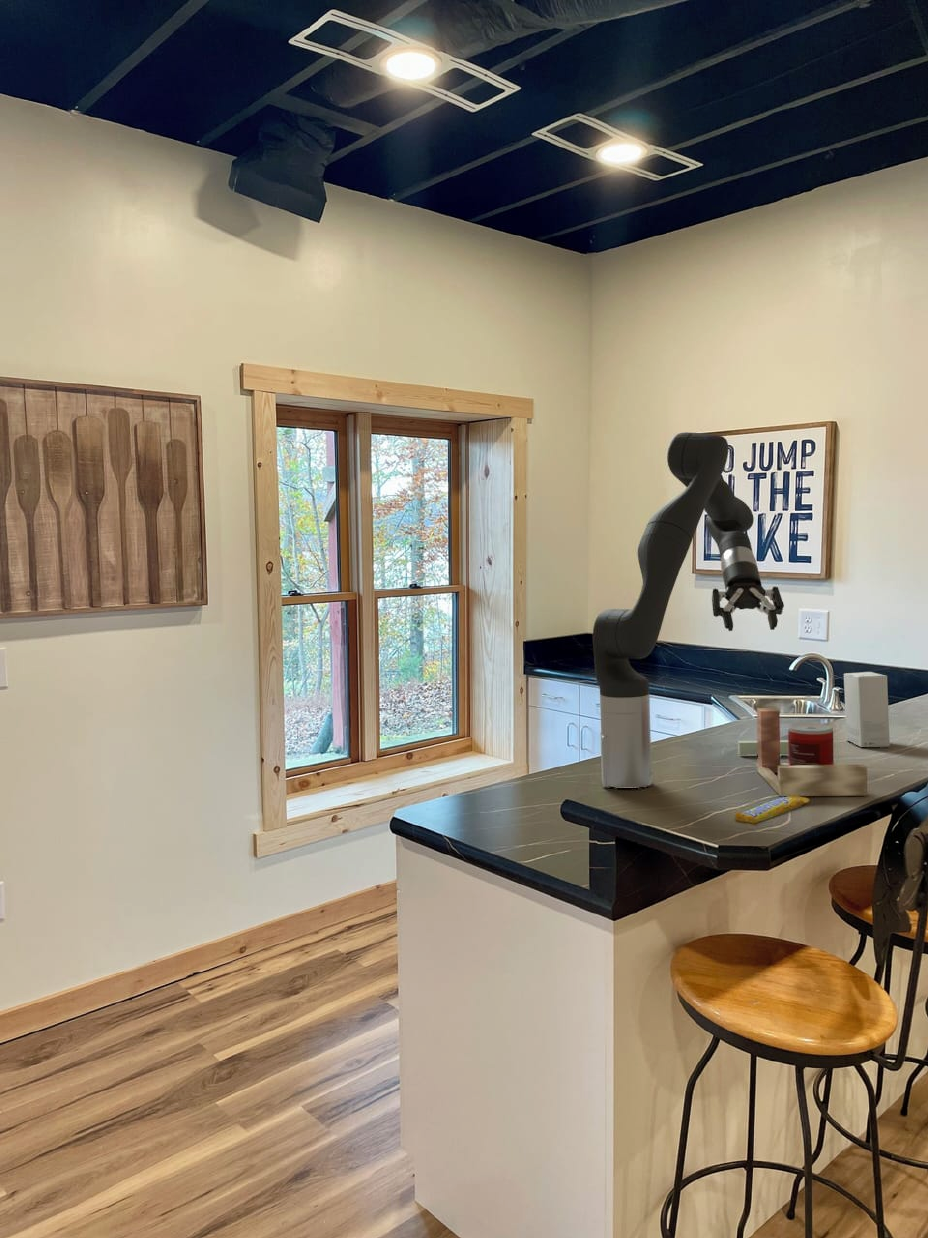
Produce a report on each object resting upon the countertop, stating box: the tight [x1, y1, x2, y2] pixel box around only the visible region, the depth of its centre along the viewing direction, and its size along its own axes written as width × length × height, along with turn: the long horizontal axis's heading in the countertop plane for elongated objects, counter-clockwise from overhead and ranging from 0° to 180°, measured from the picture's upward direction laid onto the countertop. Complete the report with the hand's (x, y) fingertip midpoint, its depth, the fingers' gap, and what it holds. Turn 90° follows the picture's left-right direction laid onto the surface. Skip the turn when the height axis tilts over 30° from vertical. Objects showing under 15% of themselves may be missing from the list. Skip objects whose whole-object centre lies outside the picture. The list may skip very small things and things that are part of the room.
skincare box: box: [843, 671, 891, 748], centre depth 195 cm, size 8×7×16 cm
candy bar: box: [733, 795, 810, 825], centre depth 148 cm, size 17×4×2 cm, turn 129°
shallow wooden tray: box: [755, 707, 868, 797], centre depth 165 cm, size 15×20×12 cm
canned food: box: [787, 722, 835, 766], centre depth 163 cm, size 8×8×11 cm
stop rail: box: [737, 739, 789, 756], centre depth 189 cm, size 16×2×3 cm, turn 84°
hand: (752, 627), depth 186 cm, fingers open, 8 cm apart
